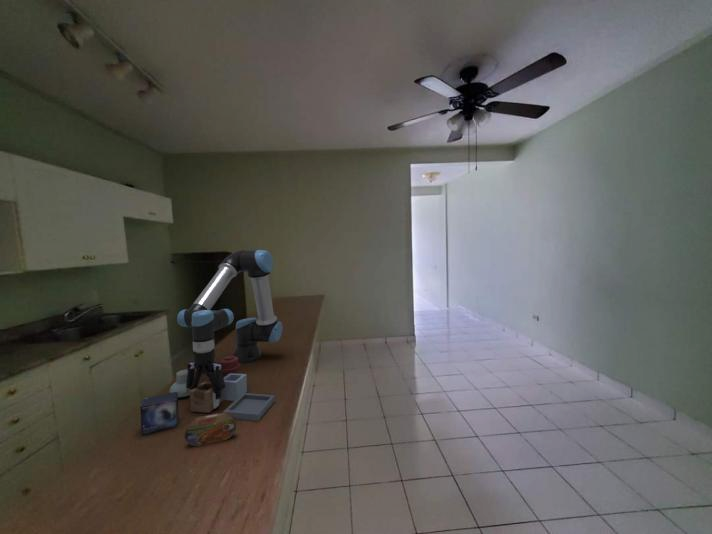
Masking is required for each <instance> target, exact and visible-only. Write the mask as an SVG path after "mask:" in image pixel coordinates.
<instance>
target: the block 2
mask: <svg viewBox="0 0 712 534" xmlns="http://www.w3.org/2000/svg"><path fill="white" fill-rule="evenodd" d="M247 380H248V379H247V374H246V373H237V374H234V373H230V374H228V375H227V376H225V377H224V383H225V388H224V389H222V401H230V402H231V401H233V402H234V401H235V400H237V399H238V398H239V397H240V396H241V395H242V394H243V393H248V381H247Z"/></svg>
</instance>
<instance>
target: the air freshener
mask: <svg viewBox="0 0 712 534" xmlns="http://www.w3.org/2000/svg"><path fill="white" fill-rule="evenodd" d="M187 374H188V368H187V369H183V370H179V371H178V372H176V373H175V382H174V383H173V384H172V385H171V386H170V388H169V393H174V392H178V398H185V397H190V391H191V390H190V388H186V382H187ZM199 384H200V383H198V385H199Z"/></svg>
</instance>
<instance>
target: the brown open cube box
mask: <svg viewBox="0 0 712 534" xmlns="http://www.w3.org/2000/svg"><path fill="white" fill-rule="evenodd" d="M213 392H214V389H213V386H212V384H211V382H210V381H203V382H200V383H199V385H198V386H197V387H195V388H194V389H192V390H191V391H190V395H189V405H190V412H194V413H195V412H196V413H207V414H209V413H211V412H213V410H214V409H215V408H213ZM220 392H221V397H220V398H219V405H220V404H221V403H222V402H223V400H222V390H221V391H220Z"/></svg>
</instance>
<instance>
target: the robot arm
mask: <svg viewBox="0 0 712 534" xmlns="http://www.w3.org/2000/svg"><path fill="white" fill-rule="evenodd" d="M273 269H274V259H273V256H272V255H271V253H270V252H269V251H267V250H266V249H265V250H262V249H249V250H248V249H246V250H245V249H241V250H236V251H234V252H232V253H231V254H229V255H227V257H225V258H224V260H223V261H222V262H221V263H220V264H219V265H218V270H217V271H216V273H215V274H214V276H213V277H212V278H211V280H210V281H209V282H208V284H207V285H206V286H205V288H204V289H203V290H202V291H201V293H200V294H199V295H198V297H196V299H195V301H194V302H193V303H192V305H191V306H190V307H189V308H187V309H181V310H180V311H179V313H178V314H177V316H176V317H177V318H176V320H177V324H178V325H179V326H181V327H184V328H185V327H186V328H191V330H192V331H191V334H192V351H193V353H192V356H193V358H192V359H193V361H192V362H191V363H189V364H187V365H186V368H187V369H188V374H187V382H186V388H190V390H192V389H194V388H195V387H197V386H198V383H199V382H200V380H201V378H202V375H206V377H207V378H208V379H209V382H211V384H212V386H213V389H214V392H213V408H214V409H217V408H218V407H219V406H220V404H219V398H220V397H221V392H220V391H221V390H222V389H224V388H225V383H224V378H223V373H222V364H219V363H216V361H215V357H216V352H215V351H216V350H215V347H216V346H215V345H216V344H215V332H216V331H218V330H220V329H223V328H226V327H227V326H229V325H231V324H232V323H233V321H234V319H235V318H234V313H233V311H232V310H230V309H229V308H222V309H219V310H214V309H213V310H211V309H212V308H213V307H214V306H215V304H216V303H217V300H218V299H219V298H220V296H221V295H222V293H223V292H224V291H225V289H226V287H227V286H228V285H229V283H231V280H232V279H233V278H235V277H237V275H238V274H240V273H247V277H248V278H249V279H250V280H251V283H252V289H253V295H254V301H255V308H256V312H257V317H248V318H244V319H243V318H242V319H240V320H237V322H235V350H234V353H233V356H236V357H238V363H240V364H244V363H253V362H255V361H258V360H259V359H261V357H262V352H261V349H260V347H259V343H262V342H263V343H264V342H265V343H269V344H270V343H277V342H278V341H279V340H280V339H281V336H282V333H283V327H284V326H283V322H281V321H279V320H278V317H277V316H276V315H275V313H274V308H273V300H272V293H271V288H270V287H271V286H270V282H269V276H270V275H271V272H272V271H273ZM258 342H259V343H258ZM257 359H258V360H257ZM199 384H200V383H199Z"/></svg>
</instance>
